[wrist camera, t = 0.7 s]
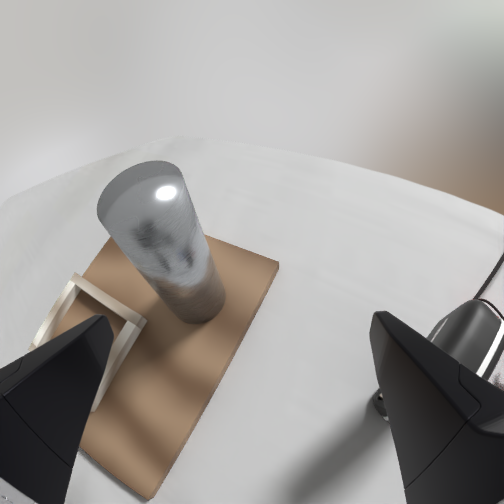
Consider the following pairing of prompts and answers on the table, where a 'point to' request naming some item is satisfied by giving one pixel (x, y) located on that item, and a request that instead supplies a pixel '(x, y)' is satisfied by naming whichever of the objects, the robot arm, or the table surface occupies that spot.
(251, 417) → the table surface
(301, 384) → the table surface
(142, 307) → the board
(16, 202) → the table surface
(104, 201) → the grey cylinder
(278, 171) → the table surface
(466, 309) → the battery charger
